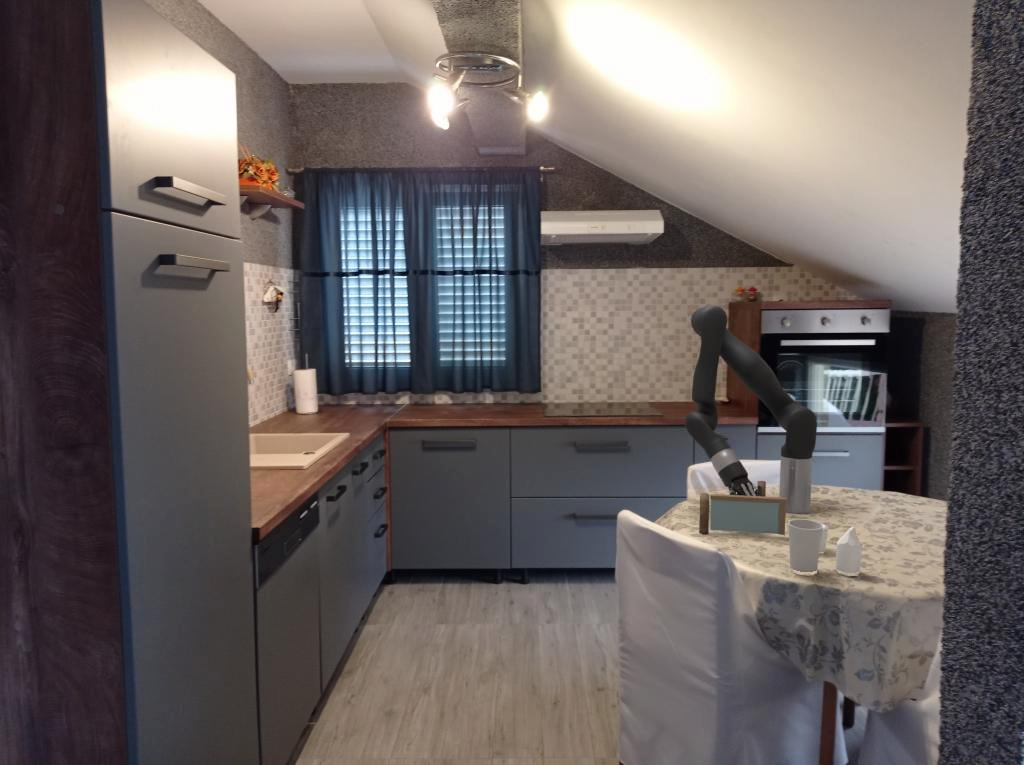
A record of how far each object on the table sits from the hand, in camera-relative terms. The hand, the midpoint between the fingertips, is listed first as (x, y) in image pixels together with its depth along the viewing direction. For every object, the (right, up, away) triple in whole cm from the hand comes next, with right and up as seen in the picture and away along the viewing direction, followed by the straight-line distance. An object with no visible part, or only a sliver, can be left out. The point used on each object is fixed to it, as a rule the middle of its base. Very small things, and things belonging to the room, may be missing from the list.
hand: (760, 518), depth 199 cm
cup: (+1, -8, -25) cm, 27 cm away
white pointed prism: (+12, -8, -27) cm, 30 cm away
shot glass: (+10, -6, -12) cm, 17 cm away
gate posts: (-5, -4, +9) cm, 11 cm away
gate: (-4, -4, 0) cm, 5 cm away
